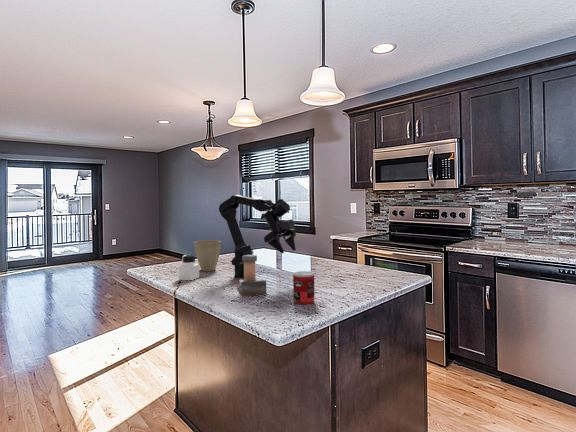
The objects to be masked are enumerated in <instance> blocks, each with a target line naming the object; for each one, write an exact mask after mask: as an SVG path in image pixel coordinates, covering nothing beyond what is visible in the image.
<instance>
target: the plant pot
mask: <svg viewBox="0 0 576 432" xmlns="http://www.w3.org/2000/svg"><path fill="white" fill-rule="evenodd" d="M193 246H194V247H193V248H194V252H195V255H196V256H195V257H196V258H197V261H198V264H199V269H200V270H201V271H202V270H203V271H202V272H212V270H213V271H215V270H216V268H217V265H218V261H219V258H220V254H221V247H222V240H218V239H208V240H207V239H203V240H196V241H193Z"/></svg>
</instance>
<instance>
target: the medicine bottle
mask: <svg viewBox="0 0 576 432" xmlns="http://www.w3.org/2000/svg"><path fill="white" fill-rule="evenodd" d="M181 258H182V259H181V261H182V263H181V264H180V265H178V281H185V280H192V281H195V280H197V279H199V278H200V265H199V263H196V256H195V255H194V254H185V255H182V257H181ZM196 278H197V279H196ZM194 279H195V280H194Z"/></svg>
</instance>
